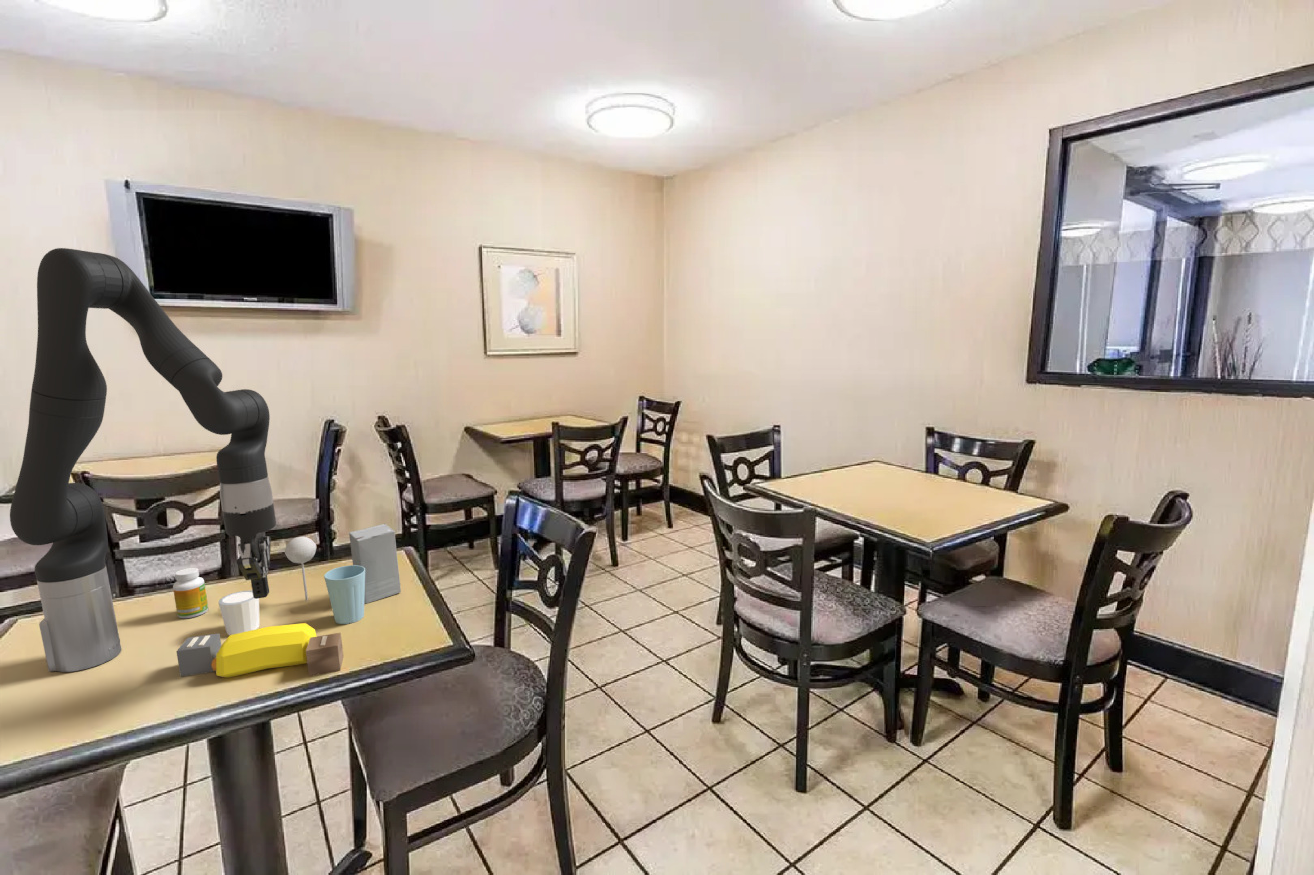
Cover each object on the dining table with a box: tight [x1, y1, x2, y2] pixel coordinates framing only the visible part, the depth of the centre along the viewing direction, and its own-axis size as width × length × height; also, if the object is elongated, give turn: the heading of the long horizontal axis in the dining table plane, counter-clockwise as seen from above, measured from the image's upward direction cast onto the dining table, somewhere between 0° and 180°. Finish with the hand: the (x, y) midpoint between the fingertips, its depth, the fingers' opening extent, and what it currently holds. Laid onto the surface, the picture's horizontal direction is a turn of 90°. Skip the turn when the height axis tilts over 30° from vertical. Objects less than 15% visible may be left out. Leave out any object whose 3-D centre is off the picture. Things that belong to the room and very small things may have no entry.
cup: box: [323, 564, 365, 625], centre depth 129 cm, size 8×8×10 cm
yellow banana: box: [211, 622, 317, 678], centre depth 112 cm, size 18×7×8 cm
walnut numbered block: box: [306, 632, 344, 677], centre depth 111 cm, size 5×5×5 cm
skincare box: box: [348, 523, 402, 605], centre depth 139 cm, size 8×7×16 cm
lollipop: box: [284, 536, 317, 602], centre depth 137 cm, size 6×6×15 cm
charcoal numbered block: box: [176, 633, 222, 678], centre depth 111 cm, size 5×5×5 cm
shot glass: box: [218, 589, 260, 636], centre depth 125 cm, size 7×7×7 cm
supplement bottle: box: [172, 567, 209, 619], centre depth 131 cm, size 5×5×10 cm
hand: (261, 596), depth 110 cm, fingers closed
